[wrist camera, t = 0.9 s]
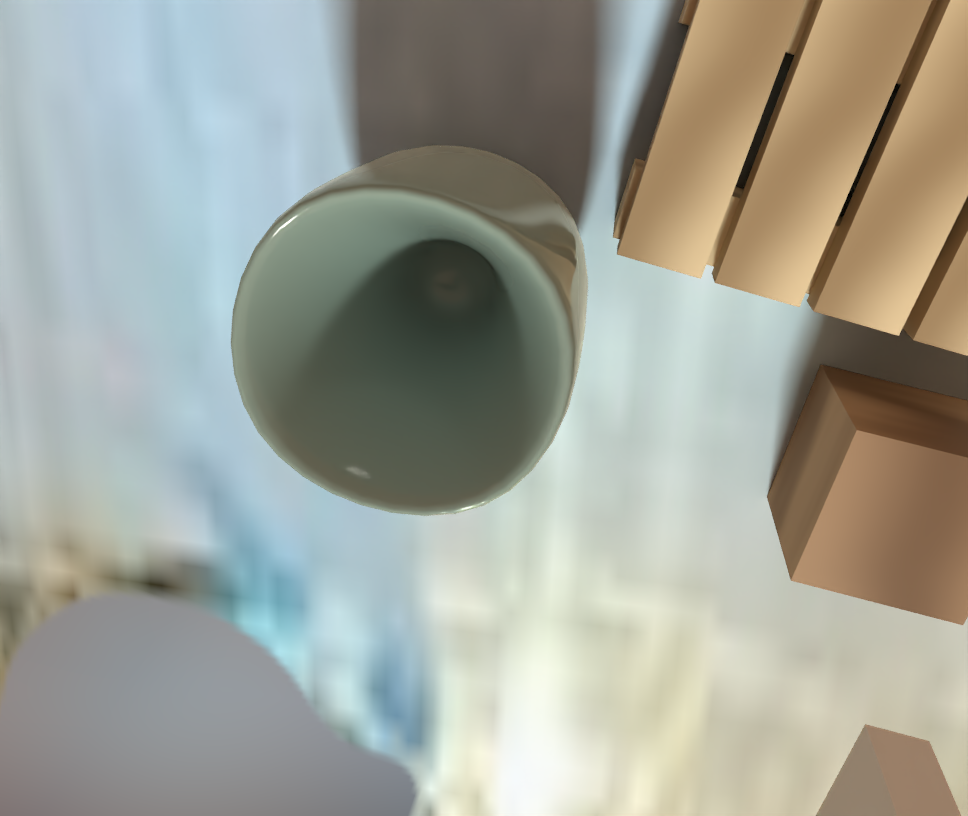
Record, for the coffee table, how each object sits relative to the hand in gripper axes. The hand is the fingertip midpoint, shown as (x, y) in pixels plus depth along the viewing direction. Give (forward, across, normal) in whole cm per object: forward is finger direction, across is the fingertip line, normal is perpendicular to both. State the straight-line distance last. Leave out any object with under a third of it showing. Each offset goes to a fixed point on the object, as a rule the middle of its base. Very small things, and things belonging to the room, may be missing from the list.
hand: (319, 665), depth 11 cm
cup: (+19, -1, 0) cm, 19 cm away
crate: (+19, +13, -3) cm, 23 cm away
